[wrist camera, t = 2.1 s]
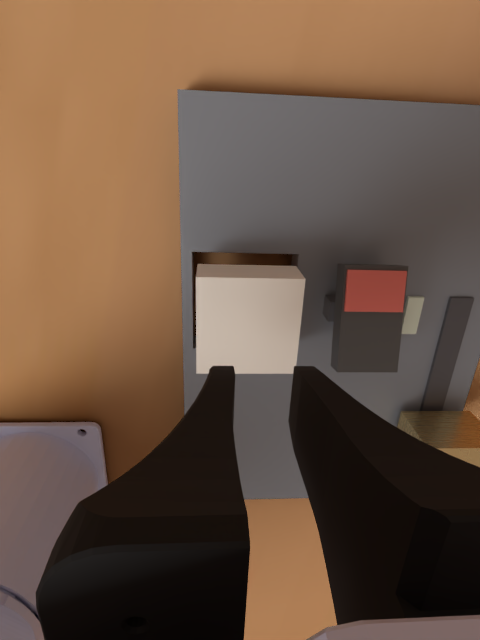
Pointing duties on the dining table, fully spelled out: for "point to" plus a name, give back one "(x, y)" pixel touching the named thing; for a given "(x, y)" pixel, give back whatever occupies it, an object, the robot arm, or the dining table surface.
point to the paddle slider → (445, 432)
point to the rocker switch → (368, 317)
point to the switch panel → (336, 244)
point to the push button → (248, 317)
